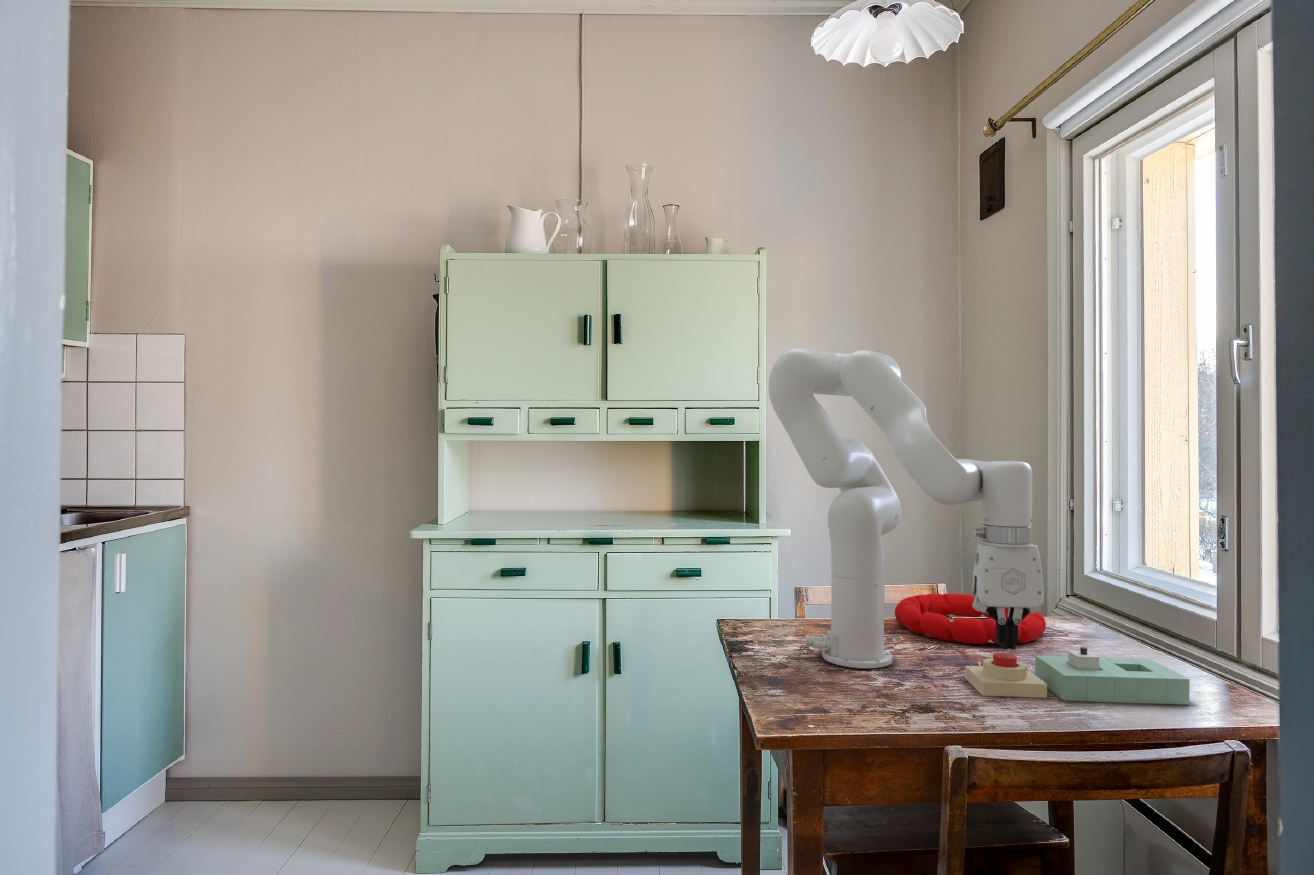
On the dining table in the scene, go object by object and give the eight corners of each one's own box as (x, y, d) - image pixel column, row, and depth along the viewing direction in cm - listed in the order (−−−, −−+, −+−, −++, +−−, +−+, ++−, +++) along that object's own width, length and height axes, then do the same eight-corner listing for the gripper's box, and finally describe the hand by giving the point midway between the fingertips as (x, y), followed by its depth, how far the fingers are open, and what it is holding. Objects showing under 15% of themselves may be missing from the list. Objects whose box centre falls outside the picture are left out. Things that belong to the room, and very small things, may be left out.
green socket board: (1063, 700, 124) (1063, 675, 124) (1034, 678, 135) (1035, 655, 135) (1189, 704, 123) (1189, 679, 123) (1150, 682, 134) (1150, 658, 134)
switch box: (982, 695, 126) (982, 670, 126) (964, 678, 135) (965, 655, 135) (1047, 698, 126) (1047, 672, 125) (1025, 680, 134) (1025, 656, 134)
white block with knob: (1077, 693, 128) (1077, 650, 128) (1067, 686, 131) (1068, 644, 131) (1099, 694, 128) (1099, 651, 128) (1089, 687, 131) (1089, 645, 131)
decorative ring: (1065, 627, 152) (1025, 584, 181) (902, 619, 158) (889, 579, 187) (1064, 664, 152) (1024, 615, 182) (901, 654, 158) (888, 608, 188)
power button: (997, 669, 129) (997, 658, 129) (989, 662, 132) (989, 652, 132) (1020, 669, 128) (1020, 659, 128) (1011, 663, 132) (1012, 652, 132)
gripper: (967, 538, 127) (967, 652, 127) (1063, 539, 126) (1063, 654, 126) (953, 532, 134) (953, 640, 134) (1044, 533, 133) (1044, 642, 133)
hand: (1006, 647), depth 130 cm, fingers closed
